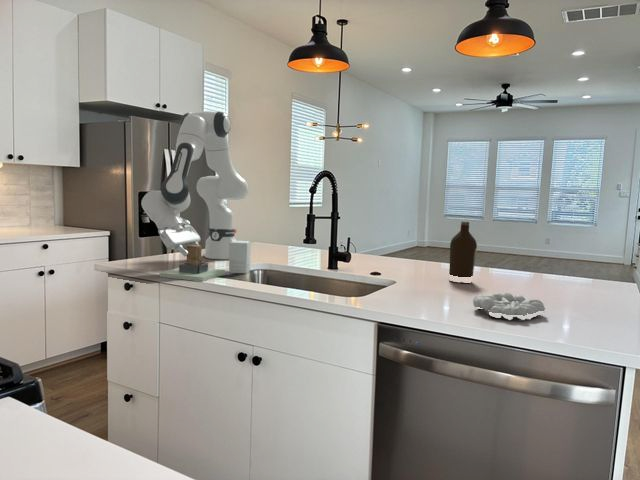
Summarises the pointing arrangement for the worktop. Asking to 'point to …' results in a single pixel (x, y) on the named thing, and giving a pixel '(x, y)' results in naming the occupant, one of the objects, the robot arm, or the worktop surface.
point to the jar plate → (189, 276)
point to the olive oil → (462, 253)
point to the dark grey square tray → (193, 268)
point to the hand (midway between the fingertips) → (193, 253)
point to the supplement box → (239, 256)
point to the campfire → (508, 304)
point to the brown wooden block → (194, 255)
